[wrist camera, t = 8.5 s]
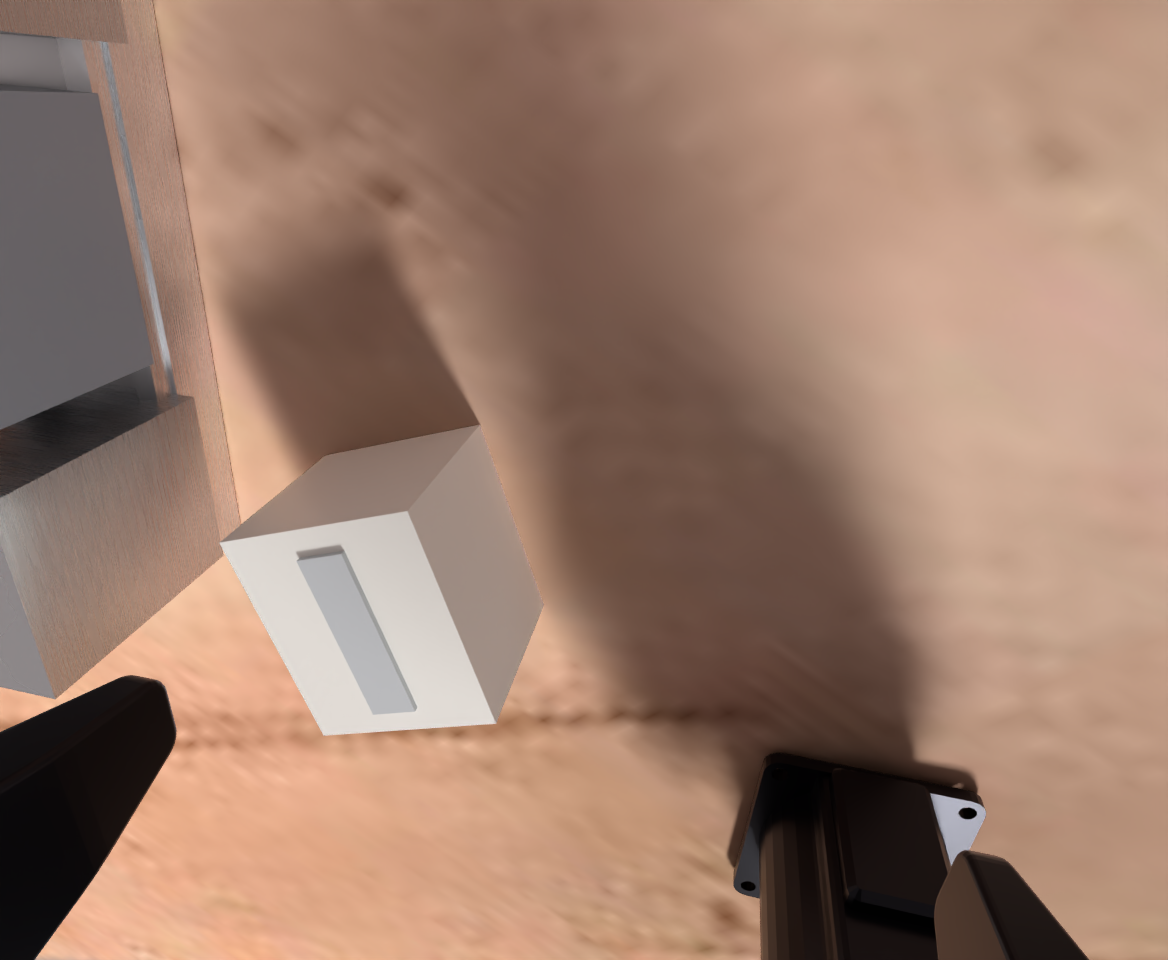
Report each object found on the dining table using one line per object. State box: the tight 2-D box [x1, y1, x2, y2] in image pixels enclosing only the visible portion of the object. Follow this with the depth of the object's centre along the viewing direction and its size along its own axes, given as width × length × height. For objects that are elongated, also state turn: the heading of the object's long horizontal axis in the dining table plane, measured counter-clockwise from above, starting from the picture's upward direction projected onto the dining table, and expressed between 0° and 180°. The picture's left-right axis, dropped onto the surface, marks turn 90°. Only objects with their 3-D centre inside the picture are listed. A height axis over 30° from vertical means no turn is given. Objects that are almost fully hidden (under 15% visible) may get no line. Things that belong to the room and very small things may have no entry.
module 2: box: [219, 425, 544, 736], centre depth 20 cm, size 6×5×5 cm
